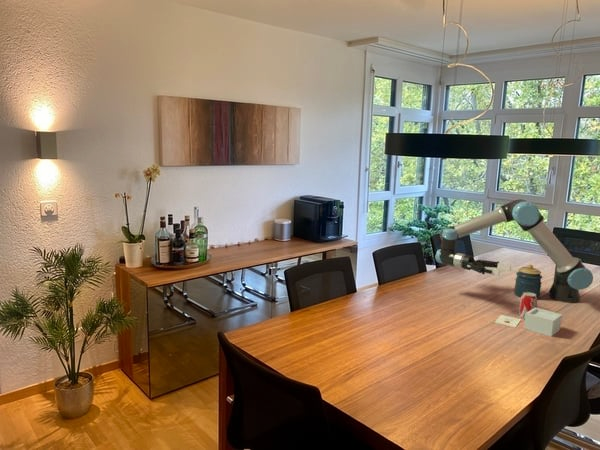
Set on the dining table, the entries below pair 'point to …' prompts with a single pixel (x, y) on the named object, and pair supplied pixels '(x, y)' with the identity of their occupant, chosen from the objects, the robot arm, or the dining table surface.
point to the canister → (528, 281)
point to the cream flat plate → (508, 321)
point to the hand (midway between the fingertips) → (505, 270)
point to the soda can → (527, 303)
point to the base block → (542, 321)
